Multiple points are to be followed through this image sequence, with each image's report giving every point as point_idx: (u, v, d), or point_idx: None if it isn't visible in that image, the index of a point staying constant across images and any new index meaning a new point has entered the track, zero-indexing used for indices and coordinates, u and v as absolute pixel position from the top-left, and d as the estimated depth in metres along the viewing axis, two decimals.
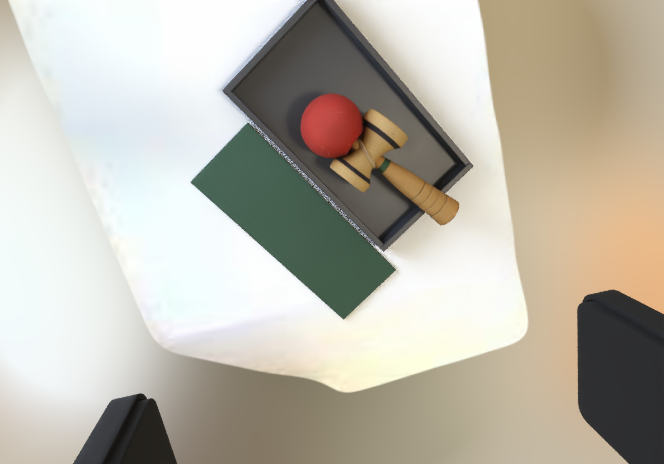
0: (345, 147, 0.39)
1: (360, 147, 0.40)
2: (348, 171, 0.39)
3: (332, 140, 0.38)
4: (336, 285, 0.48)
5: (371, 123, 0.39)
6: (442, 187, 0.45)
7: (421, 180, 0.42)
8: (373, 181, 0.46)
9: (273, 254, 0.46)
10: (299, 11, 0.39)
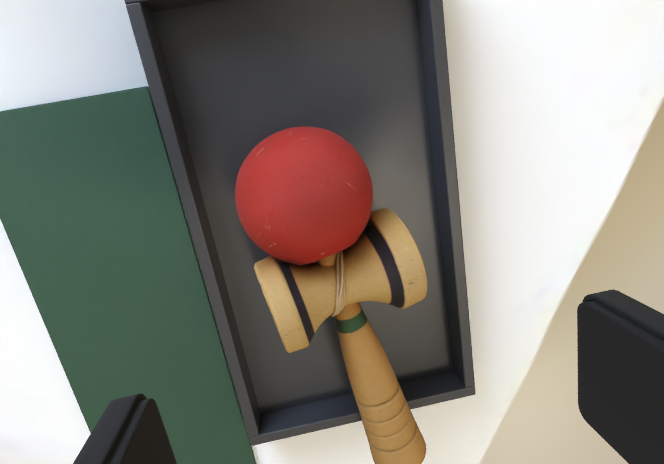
0: (312, 254, 0.17)
1: (334, 267, 0.19)
2: (288, 304, 0.17)
3: (298, 228, 0.16)
4: None
5: (384, 240, 0.18)
6: (409, 397, 0.24)
7: (395, 380, 0.21)
8: None
9: (54, 338, 0.22)
10: None
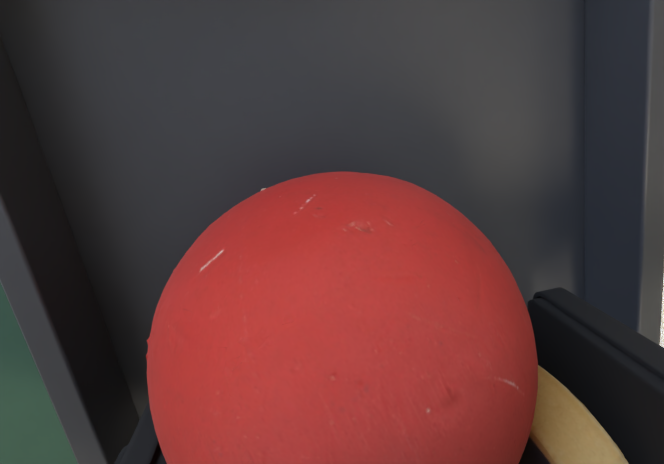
0: None
1: None
2: None
3: None
4: None
5: None
6: None
7: None
8: None
9: None
10: None
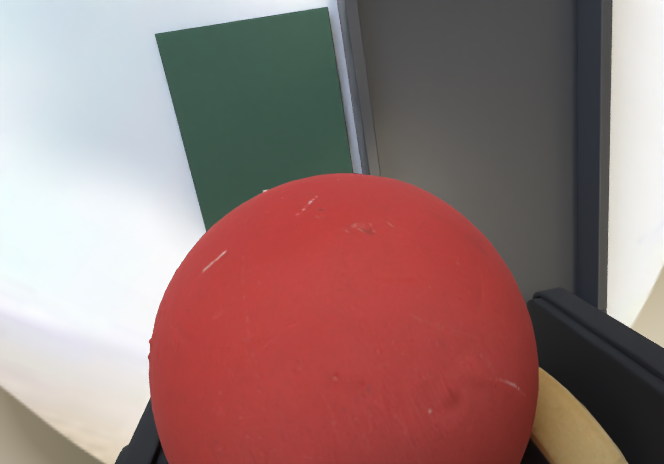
0: None
1: None
2: None
3: None
4: None
5: None
6: None
7: None
8: None
9: None
10: None
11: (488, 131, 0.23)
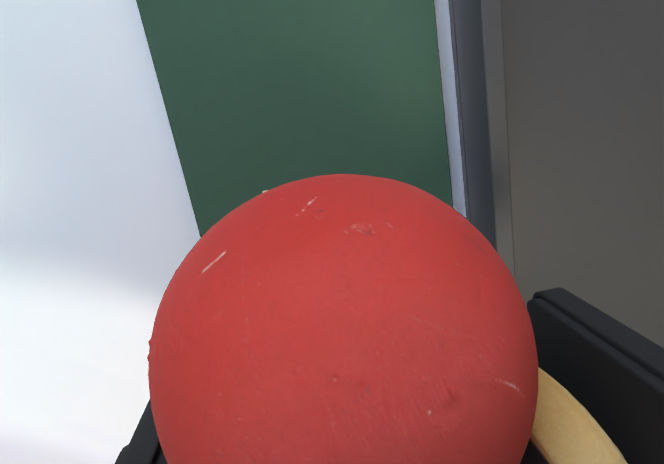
0: None
1: None
2: None
3: None
4: None
5: None
6: None
7: None
8: (592, 288, 0.16)
9: None
10: None
11: None
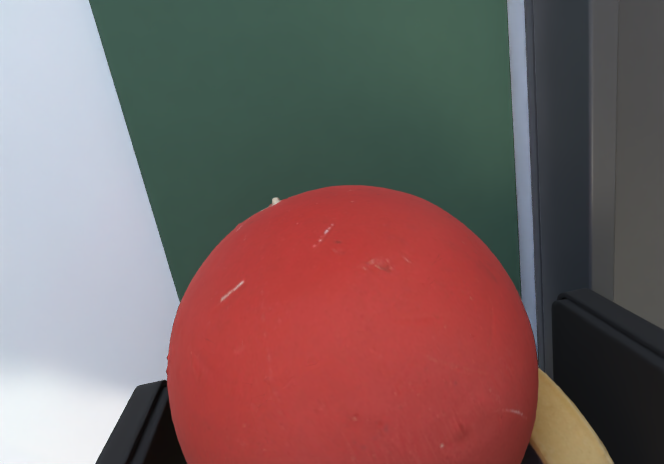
0: None
1: None
2: None
3: None
4: None
5: None
6: None
7: None
8: None
9: None
10: None
11: None
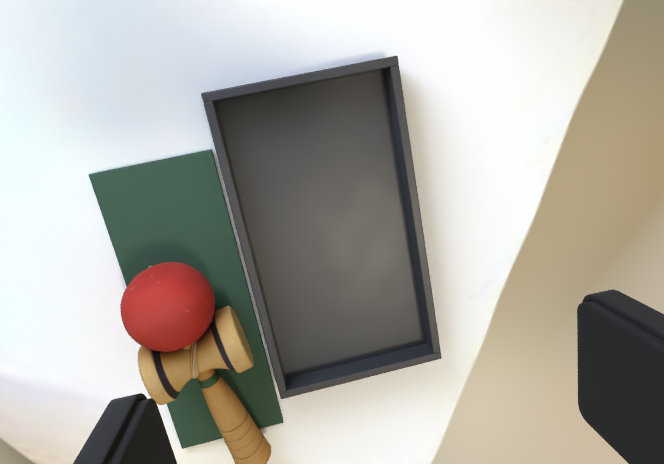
0: (168, 349, 0.27)
1: (191, 350, 0.29)
2: (155, 379, 0.27)
3: (154, 338, 0.26)
4: (199, 403, 0.34)
5: (218, 335, 0.28)
6: (393, 362, 0.34)
7: (243, 414, 0.32)
8: (320, 306, 0.33)
9: None
10: (354, 66, 0.28)
11: (339, 226, 0.32)
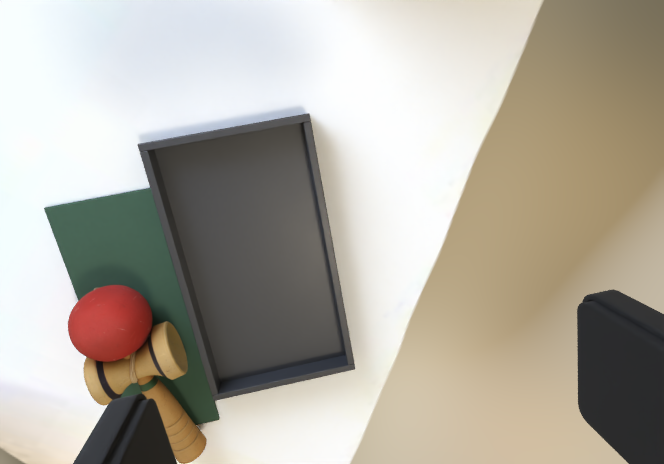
0: (108, 360, 0.32)
1: (130, 359, 0.34)
2: (97, 385, 0.33)
3: (94, 352, 0.31)
4: None
5: (152, 348, 0.33)
6: (313, 371, 0.39)
7: (178, 413, 0.37)
8: (249, 321, 0.38)
9: None
10: (271, 122, 0.32)
11: (265, 254, 0.37)
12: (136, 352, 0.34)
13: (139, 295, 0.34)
